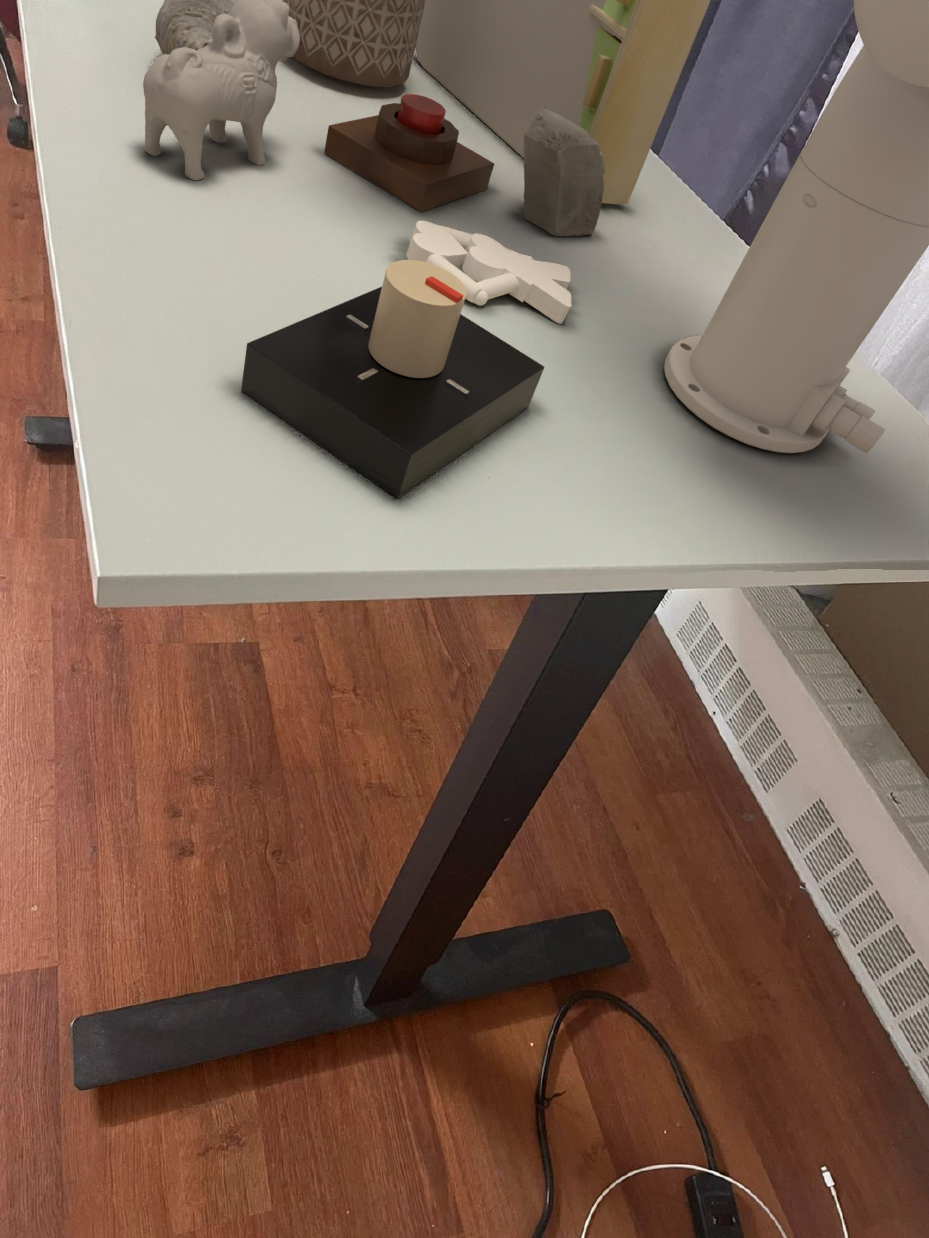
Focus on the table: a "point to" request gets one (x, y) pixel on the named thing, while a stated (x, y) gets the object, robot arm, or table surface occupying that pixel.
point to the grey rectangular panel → (511, 58)
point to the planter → (358, 38)
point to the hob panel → (386, 393)
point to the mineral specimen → (562, 176)
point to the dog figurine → (220, 82)
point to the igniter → (409, 159)
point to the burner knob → (416, 318)
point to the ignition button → (421, 114)
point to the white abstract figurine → (493, 269)
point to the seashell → (188, 23)
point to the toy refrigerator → (634, 81)
